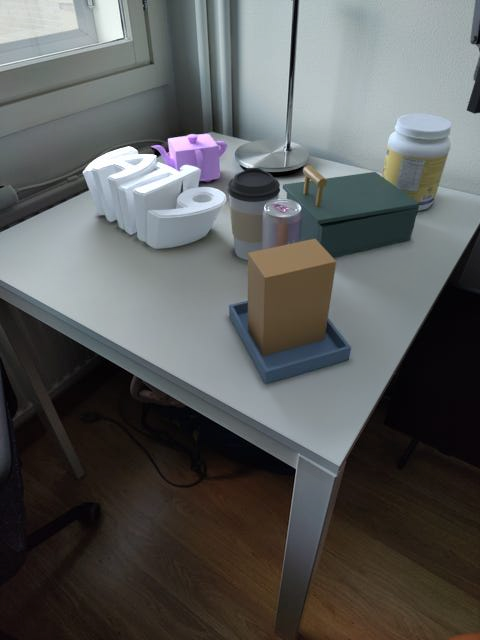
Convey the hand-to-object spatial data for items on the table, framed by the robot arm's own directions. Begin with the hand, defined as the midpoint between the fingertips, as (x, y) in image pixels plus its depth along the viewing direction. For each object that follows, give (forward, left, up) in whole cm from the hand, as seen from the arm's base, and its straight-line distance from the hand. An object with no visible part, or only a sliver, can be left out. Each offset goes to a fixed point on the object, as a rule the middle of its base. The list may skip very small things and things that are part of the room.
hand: (478, 110), depth 61 cm
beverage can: (+8, +24, -29) cm, 38 cm away
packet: (-4, +28, -28) cm, 40 cm away
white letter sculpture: (+40, +39, -29) cm, 63 cm away
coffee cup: (+20, +24, -29) cm, 42 cm away
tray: (-4, +28, -28) cm, 40 cm away
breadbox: (+20, +4, -28) cm, 35 cm away
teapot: (+56, +26, -29) cm, 68 cm away
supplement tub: (+27, -15, -29) cm, 42 cm away
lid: (+20, +5, -21) cm, 29 cm away
